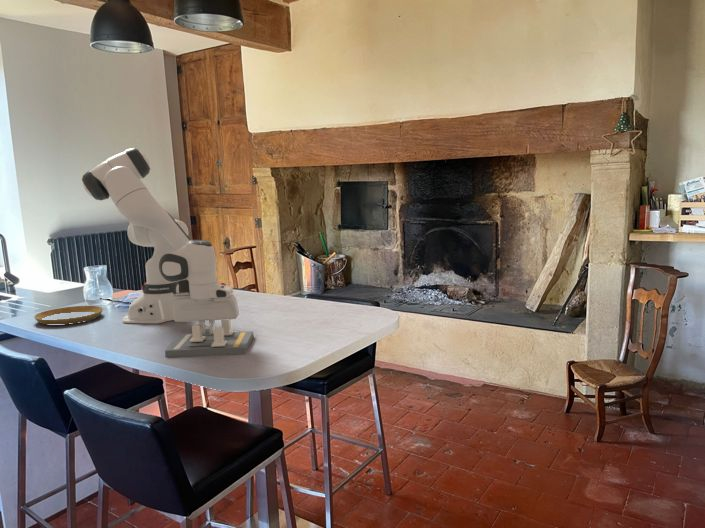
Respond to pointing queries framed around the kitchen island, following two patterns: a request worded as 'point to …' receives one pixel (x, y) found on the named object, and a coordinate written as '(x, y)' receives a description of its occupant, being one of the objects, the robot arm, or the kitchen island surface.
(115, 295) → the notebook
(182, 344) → the switch board
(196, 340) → the switch mid
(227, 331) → the switch far
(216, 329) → the switch near
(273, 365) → the kitchen island surface
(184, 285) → the phone stand
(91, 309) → the plant saucer
